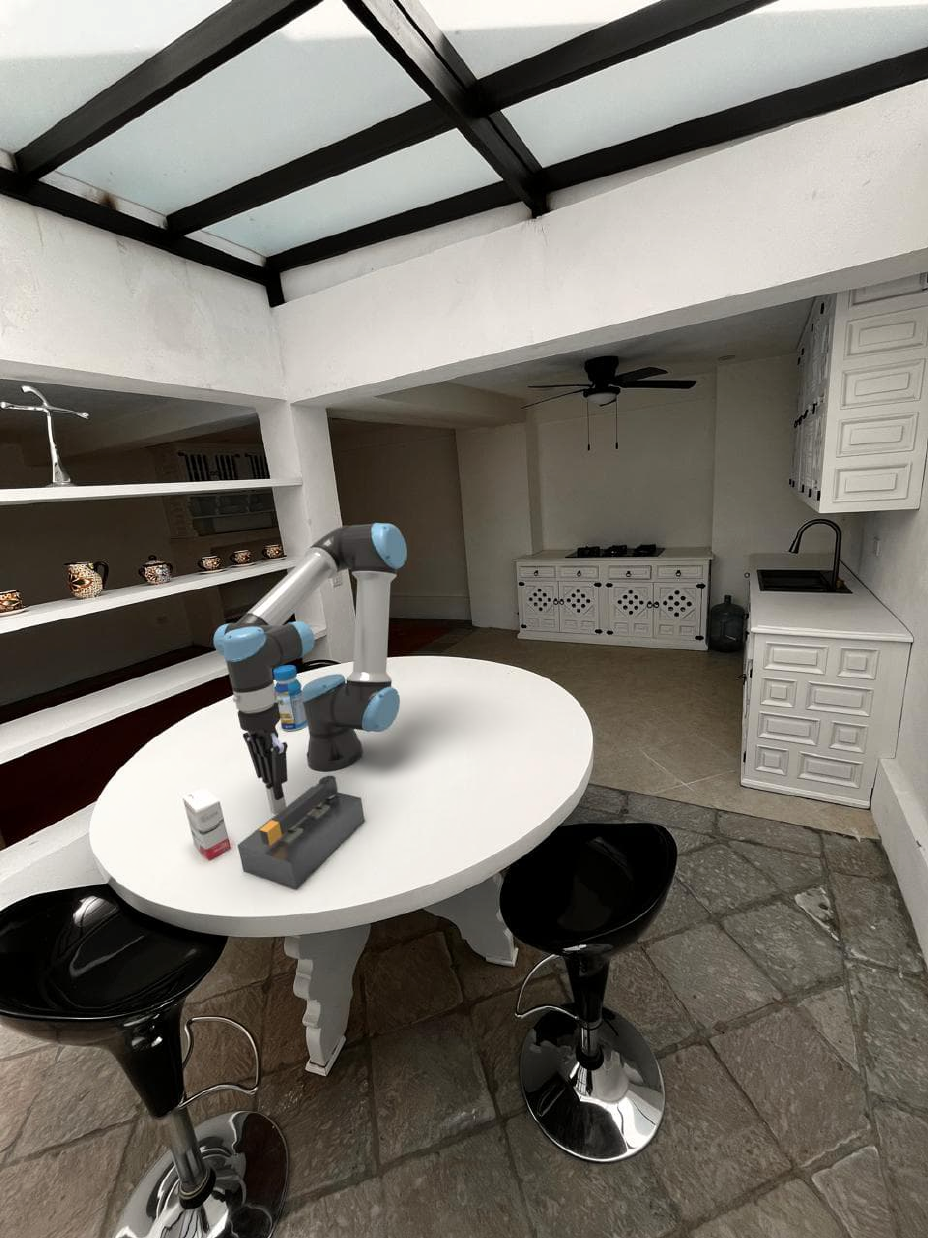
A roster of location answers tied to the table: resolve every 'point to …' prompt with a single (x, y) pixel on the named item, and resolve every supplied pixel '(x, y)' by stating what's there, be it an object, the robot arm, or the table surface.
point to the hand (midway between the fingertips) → (278, 810)
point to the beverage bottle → (289, 698)
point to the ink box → (207, 823)
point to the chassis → (303, 842)
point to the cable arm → (298, 810)
